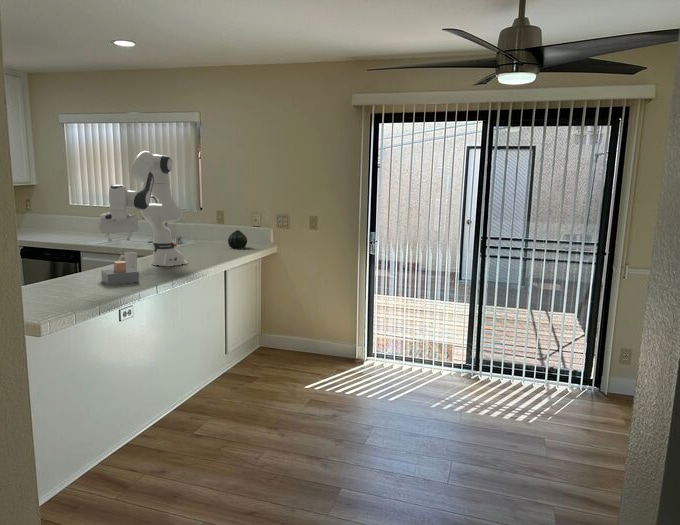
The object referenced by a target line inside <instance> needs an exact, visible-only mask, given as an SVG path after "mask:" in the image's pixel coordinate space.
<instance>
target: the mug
mask: <svg viewBox="0 0 680 525" xmlns="http://www.w3.org/2000/svg"><path fill="white" fill-rule="evenodd" d="M137 252H138V251H137ZM137 252H136V251H125V252H124V254H120V256H119V259H118V261H122V258H124V262H126V268H133V269H135V270H136V271H138V253H137Z"/></svg>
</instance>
